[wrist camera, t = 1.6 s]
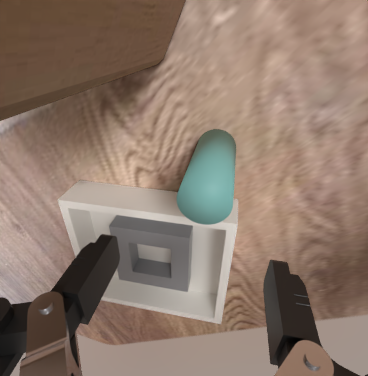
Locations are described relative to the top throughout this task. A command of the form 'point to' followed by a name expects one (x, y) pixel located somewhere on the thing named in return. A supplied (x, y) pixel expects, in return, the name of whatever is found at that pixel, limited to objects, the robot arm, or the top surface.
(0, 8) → the wooden block
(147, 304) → the bin
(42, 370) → the robot arm
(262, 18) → the top surface
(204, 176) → the peg
